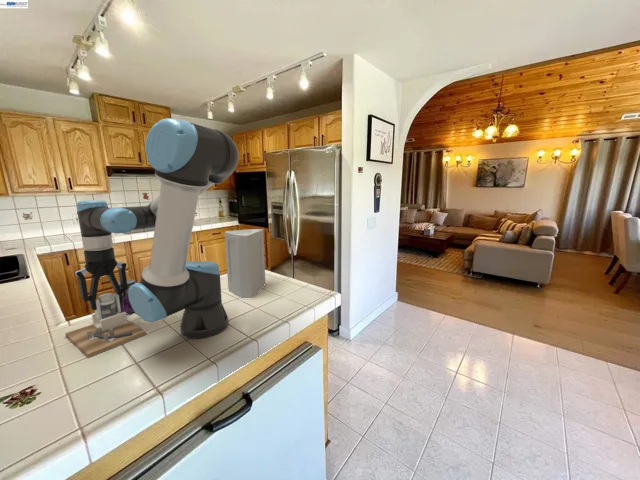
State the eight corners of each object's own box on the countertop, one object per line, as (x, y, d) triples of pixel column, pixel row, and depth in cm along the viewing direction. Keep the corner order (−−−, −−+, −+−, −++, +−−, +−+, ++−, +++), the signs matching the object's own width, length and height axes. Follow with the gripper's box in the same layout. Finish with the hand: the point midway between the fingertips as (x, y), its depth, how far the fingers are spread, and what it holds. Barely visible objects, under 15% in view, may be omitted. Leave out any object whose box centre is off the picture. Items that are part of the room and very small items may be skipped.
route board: (146, 334, 87) (144, 323, 86) (88, 357, 74) (86, 345, 74) (120, 318, 98) (118, 308, 97) (65, 336, 85) (63, 325, 84)
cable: (133, 334, 84) (133, 331, 84) (122, 341, 80) (122, 338, 80) (98, 330, 87) (98, 328, 86) (86, 337, 83) (85, 335, 82)
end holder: (127, 323, 91) (126, 312, 91) (102, 332, 86) (101, 320, 85) (117, 316, 96) (115, 306, 95) (93, 324, 90) (91, 314, 90)
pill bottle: (96, 321, 88) (92, 298, 87) (106, 315, 93) (103, 292, 91) (111, 321, 89) (108, 297, 87) (120, 315, 93) (117, 292, 92)
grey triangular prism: (238, 282, 136) (235, 228, 131) (266, 284, 134) (263, 229, 129) (219, 297, 117) (214, 234, 112) (251, 299, 115) (248, 235, 110)
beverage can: (128, 316, 99) (124, 285, 97) (113, 314, 101) (108, 284, 98) (144, 308, 106) (140, 279, 104) (129, 306, 107) (125, 278, 105)
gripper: (125, 242, 95) (133, 303, 100) (58, 251, 81) (70, 322, 85) (134, 245, 91) (142, 308, 96) (65, 255, 77) (78, 329, 81)
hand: (108, 314), depth 90 cm, fingers closed on pill bottle, 5 cm apart
